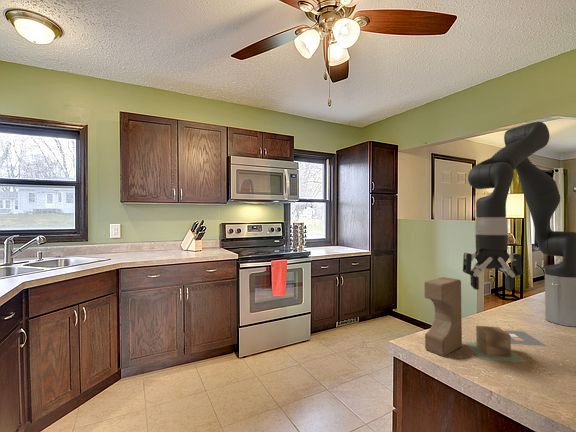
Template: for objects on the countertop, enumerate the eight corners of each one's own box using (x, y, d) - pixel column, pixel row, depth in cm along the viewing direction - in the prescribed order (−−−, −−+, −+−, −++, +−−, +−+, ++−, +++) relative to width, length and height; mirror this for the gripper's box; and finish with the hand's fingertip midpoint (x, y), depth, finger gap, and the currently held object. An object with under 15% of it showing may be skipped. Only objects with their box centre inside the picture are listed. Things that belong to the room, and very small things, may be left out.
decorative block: (443, 357, 78) (442, 284, 79) (423, 349, 83) (423, 281, 83) (463, 347, 84) (462, 279, 85) (443, 340, 89) (443, 276, 89)
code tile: (523, 332, 95) (523, 331, 95) (546, 346, 84) (546, 345, 84) (487, 329, 97) (487, 329, 97) (505, 343, 87) (505, 343, 87)
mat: (503, 344, 86) (503, 344, 86) (527, 363, 75) (527, 362, 75) (463, 342, 88) (463, 341, 88) (480, 359, 77) (480, 359, 77)
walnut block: (498, 347, 84) (498, 327, 84) (510, 357, 78) (510, 335, 78) (476, 345, 85) (476, 325, 85) (486, 355, 79) (486, 333, 79)
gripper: (511, 232, 84) (512, 287, 84) (458, 232, 87) (459, 285, 87) (527, 233, 77) (528, 293, 77) (469, 233, 79) (470, 292, 79)
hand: (492, 289), depth 82 cm, fingers open, 8 cm apart
